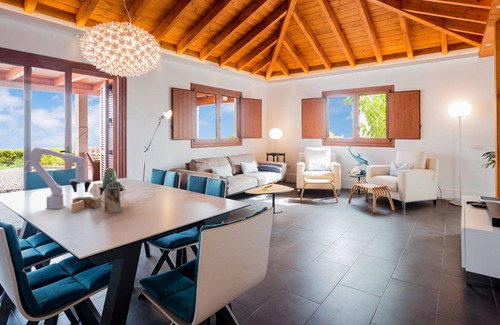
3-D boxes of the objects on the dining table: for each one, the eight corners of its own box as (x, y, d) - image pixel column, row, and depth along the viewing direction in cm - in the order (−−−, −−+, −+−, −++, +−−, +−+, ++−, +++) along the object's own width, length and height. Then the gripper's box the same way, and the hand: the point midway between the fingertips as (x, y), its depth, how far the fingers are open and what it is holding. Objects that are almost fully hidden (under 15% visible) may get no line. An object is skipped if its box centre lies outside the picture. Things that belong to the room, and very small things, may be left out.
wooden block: (72, 207, 202) (72, 198, 201) (79, 205, 210) (79, 195, 209) (95, 208, 202) (95, 198, 201) (101, 205, 210) (101, 196, 210)
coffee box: (121, 210, 199) (120, 187, 197) (119, 212, 192) (119, 188, 191) (106, 210, 196) (106, 187, 195) (104, 212, 190) (104, 189, 189)
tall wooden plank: (71, 212, 189) (71, 203, 189) (82, 207, 201) (81, 200, 201) (74, 212, 189) (74, 204, 189) (84, 207, 201) (84, 200, 201)
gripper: (66, 174, 202) (67, 193, 204) (88, 174, 204) (88, 193, 205) (72, 172, 209) (72, 191, 211) (92, 173, 211) (93, 191, 212)
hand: (80, 192), depth 208 cm, fingers open, 7 cm apart
